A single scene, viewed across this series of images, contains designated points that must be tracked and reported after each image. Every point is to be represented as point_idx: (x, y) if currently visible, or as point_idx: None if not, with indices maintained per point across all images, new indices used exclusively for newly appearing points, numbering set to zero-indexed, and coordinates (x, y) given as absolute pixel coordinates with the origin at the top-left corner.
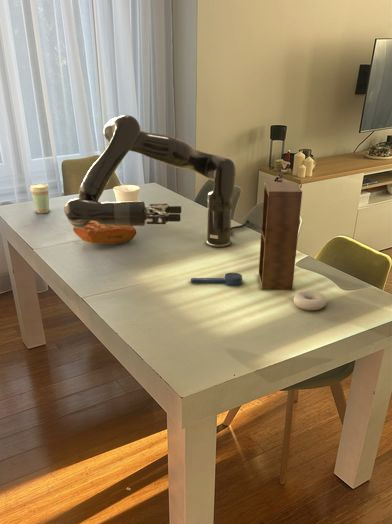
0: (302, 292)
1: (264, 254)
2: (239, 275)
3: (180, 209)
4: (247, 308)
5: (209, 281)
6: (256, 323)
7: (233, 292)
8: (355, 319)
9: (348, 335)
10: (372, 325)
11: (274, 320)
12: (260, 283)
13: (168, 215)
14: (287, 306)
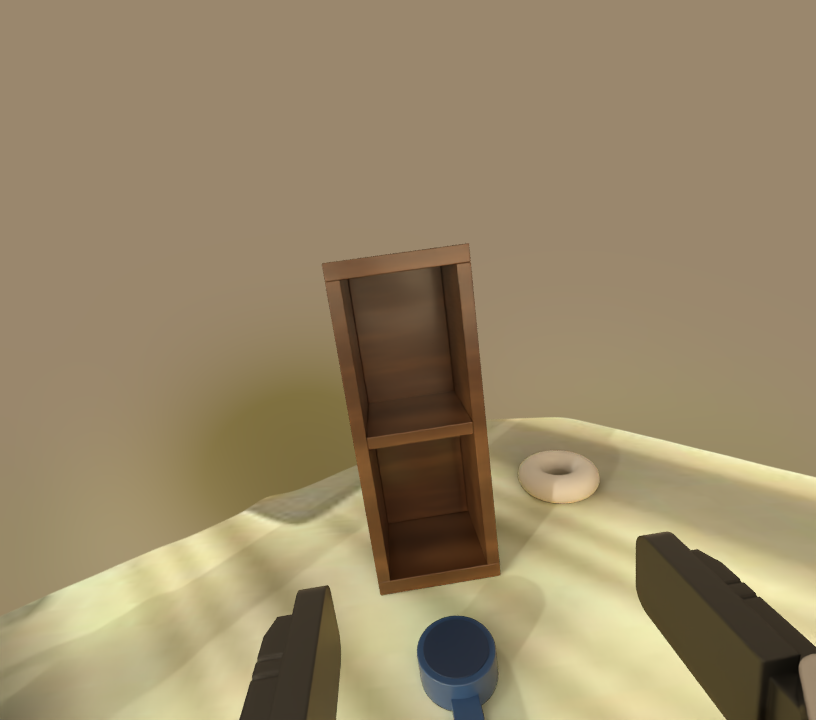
0: (545, 474)
1: (489, 464)
2: (449, 624)
3: (333, 613)
4: None
5: None
6: (766, 564)
7: (561, 658)
8: (585, 438)
9: (663, 440)
10: (596, 425)
11: (702, 531)
12: (455, 580)
13: (796, 666)
14: (590, 516)
